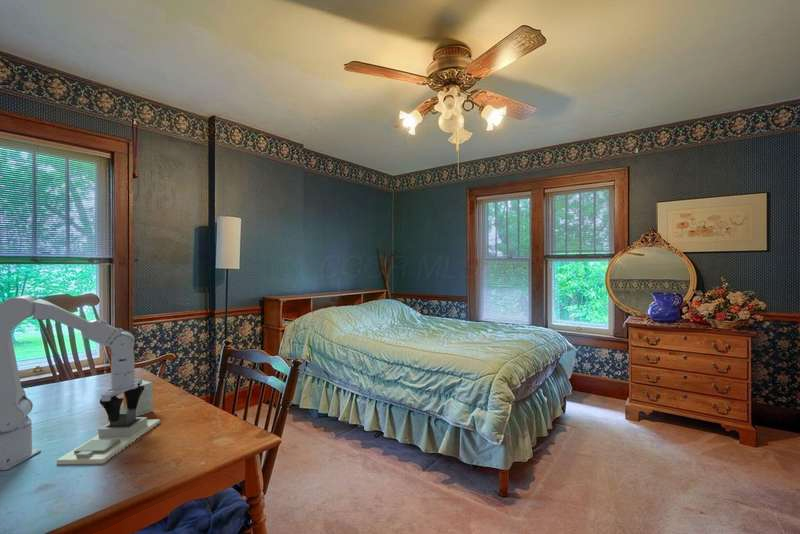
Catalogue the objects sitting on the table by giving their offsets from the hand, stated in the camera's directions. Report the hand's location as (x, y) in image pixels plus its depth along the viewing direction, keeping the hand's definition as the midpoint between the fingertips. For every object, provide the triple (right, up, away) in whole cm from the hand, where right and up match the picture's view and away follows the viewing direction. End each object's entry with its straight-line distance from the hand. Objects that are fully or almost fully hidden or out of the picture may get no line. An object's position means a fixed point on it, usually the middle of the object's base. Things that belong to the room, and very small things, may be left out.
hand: (123, 415), depth 112 cm
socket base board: (0, -6, -4) cm, 7 cm away
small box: (-8, -6, +17) cm, 19 cm away
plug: (0, -5, 0) cm, 5 cm away
